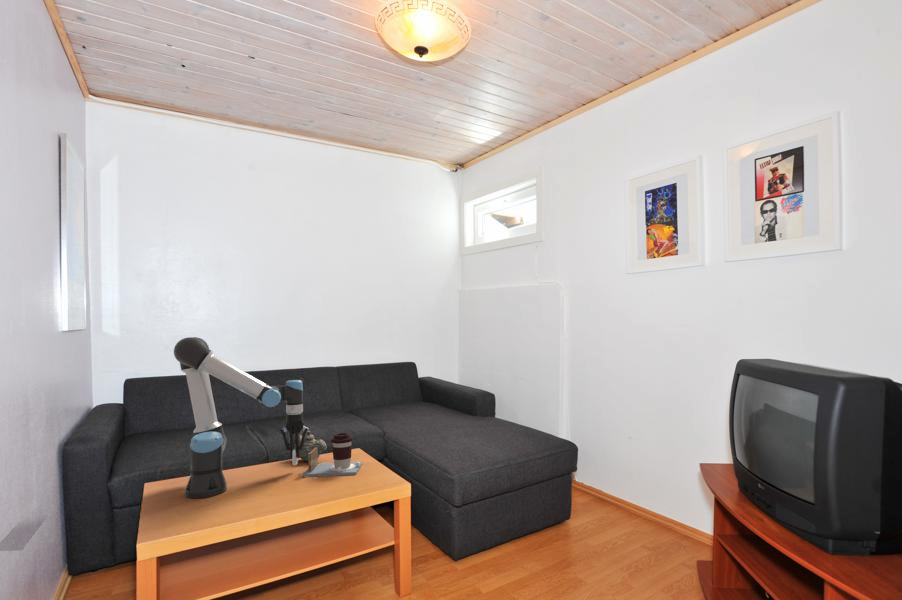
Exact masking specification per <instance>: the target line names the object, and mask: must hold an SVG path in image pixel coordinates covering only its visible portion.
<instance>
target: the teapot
mask: <svg viewBox="0 0 902 600" xmlns="http://www.w3.org/2000/svg"><path fill="white" fill-rule="evenodd" d="M301 439H302V435H301V434H300V444H301ZM316 447H318V458H319V457H320V455H321V453H323V452H325V451H326V450H327V449H328V447H327V443H326V442H325V440H323V439H315V436H314V434H311V430H308V431H307V434H306V438H305V443H304V447H303V448H302V449H300V450H299V453H300V456H299V457H298V458H300V459H301V460H302V461H304V462H307V461H308V454H309V453H310V452H311V451H312V450H313V449H314V448H316ZM294 448H295V449H294V450H296V436H295V434H294Z"/></svg>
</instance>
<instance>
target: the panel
mask: <svg viewBox="0 0 902 600" xmlns="http://www.w3.org/2000/svg"><path fill="white" fill-rule="evenodd" d="M318 464H319V457H318V447H316V448H314V449H313V450H312V451H311V452H310V453H309V454H308V467H307V469H308V472H311V471H312V470H313V469H314V468H315V467H316V466H317V465H318Z"/></svg>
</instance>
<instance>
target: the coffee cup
mask: <svg viewBox="0 0 902 600" xmlns="http://www.w3.org/2000/svg"><path fill="white" fill-rule="evenodd" d="M330 439H331V440H330V443H332V456H333V458H332V459H333V463H334V467H335V468H337V467H341V469H344V468H348V467H350V463H351V462H352V461H351V459H352V449H353V448H352V447H353V446H352V442H353V440H354V437H353V436H352V435H350V433H348V432H339V433H335V434H334V435H333V437H331V438H330Z"/></svg>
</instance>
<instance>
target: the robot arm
mask: <svg viewBox="0 0 902 600" xmlns="http://www.w3.org/2000/svg"><path fill="white" fill-rule="evenodd" d="M173 355H174V358H175V359H176V361H178V362H179V366H180V367H179V368H180V371H181V372H183V373H185V376H186V382H187V386H188V387H187V388H188V390H189V391H188V392H189V397H190V403H191V408H192V413H193V419H194V422H195V428H194V430H193V432H192V435H193V436H192V438H191V439H190V444H189V447H190V476H189V479H188V481H187V485H186V488H185V491H184V492H185V493H184V494H185V495H184V497H186V498H188V499H202V498H208V497H209V498H210V497H214V496H216V495H220V494H223V493H224V492H225V491H227V488H228V487H227V486H228V485H227V484H228V483H227V480H226V478H225V474H224V472H223V453H224V451H225V449H226V447H227V443H228V442H227V440H228V439H227V436H226V434H225V432H224V427H223V423H222V422H220V421H218V415H217V412H216V406H215V405H216V404H215V400H214V396H213V395H214V394H213V391H212V386H211V385H212V384H211V380H210V375H211V376H213V378H216V379H218V380H220V381H222V382H223V383H225V384H227V385H229V386H231V387H233V388H235V389H237V390H239V391H240V392H242V393H244V394H246V395H248V396H249V397H251V398H253V399H255V400H257V401H258V403H259V404H263V405H264V406H266V407H268V408H273V407H276V406H277V405H279V403H280V402H281V403H282V402H286V403H285V404H286V405H285V408H286V409H285V412H286V415H285V417H286V419H285V421H286V423H285V426H284V427H283V428H281V429H280V433H281V434H282V438H283V441H284V442H283V443H284V445H285V450H286V451H287V450H289V451H290V452H289V453H290V459H292V466H297V464H298V458H300V457H299V456H300V453H299V450H300V449H302V448H303V447H304V443H305V438H306V434H307V431H310V427H308V426H305V424H304V414H303V412H304V403H303V402H304V388H303V381H302V380H300V379H292V380H291V379H290V380H286V382H285V384H284V385H283V384H282V385H269V384H267V383H265V382H263V381H262V380H260V379H258V378H256V377H254V376H253V375H251V374H249V373H247V372H245V371H244V370H241V369H240V368H239V367H236V366H234V365H233V364H231V363H229V362H227V361H226V360H224V359H222V358H221V357H219V356H217V355H216V354H214V352H213V350H211V349H210V347H209V344H208V342H206V340H204V339H202V338H200V337H196V336H192V337H189V336H188V337H185V338H182V339H180V340H179V341H177V343H176V344H175V345H174V348H173ZM287 431H288V432H287ZM301 431H302V432H303V433H302V435H301ZM288 433H289V436H288ZM294 435H295V436H296V450H294V449H295V448H294ZM300 435H301V436H302V439H301V444H300Z"/></svg>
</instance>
